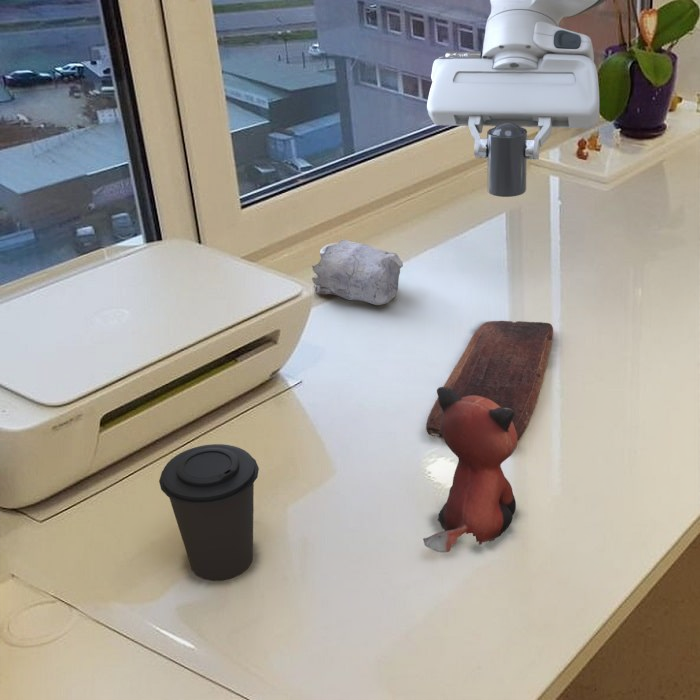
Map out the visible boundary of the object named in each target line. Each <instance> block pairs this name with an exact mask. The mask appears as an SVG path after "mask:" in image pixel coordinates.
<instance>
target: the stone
mask: <svg viewBox="0 0 700 700" xmlns="http://www.w3.org/2000/svg"><path fill="white" fill-rule="evenodd" d="M319 255H320V258H321V259H319V260H320V261H318V263H317V264H314V265H312V266H311V267H312V271H313V273H314V274H315V275H313V276H312V277H311V280H312V283H313V284H314V285H313V289H314V291H315V292H316V294H318V295H319V294H320V295H334V296H337V297H340V298H343V299H346V300H349V301H357V302H358V301H359V302H360V301H361V302H366V303H369V304H371V305H374V306H382V305H384V304H385V305H386V304H388V303H389V302H390V301H392V300H393V298H395V297H396V295H397V293H398V290H399V279H400V274H401V268H402V267H404V262H403V260H401V257H399V255H398V253H396V252H391V251H388V250H383V249H379V248H375V247H373V246H371V245H368V244H365V243H361V242H355V241H351V240H347V239H345V238H342V239H340V240H339V241H338V242H331V243H328V244H326V245H324V246H323V247H322V248H320V250H319Z"/></svg>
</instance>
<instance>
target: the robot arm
mask: <svg viewBox="0 0 700 700" xmlns="http://www.w3.org/2000/svg"><path fill="white" fill-rule="evenodd" d="M605 2H607V0H489V3H490V8H491V10H490V13H489V16H488V18H487V20H486V24H485V29H484V38H483V44H482V45H483V46H482V50H481V51H479V50H478V51H473V50H472V51H471V50H470V51H464V52H463V51H461V52H460V51H447V52H445V54H443V55H440V56H438V57H437V58H436V59H435V60H434V61H433V63H432V67H431V74H430V78H431V81H432V82H431V86H430V88H429V93H428V97H427V103H426V110H427V114H428V116H429V118H430V120H431V121H432V122H433V123H434V125H435V126H450V127H451V126H453V127H455V126H456V127H458V126H460V127H461V126H462V127H468V129H469V133H470V135H471V138H472V140H473V141H474V148H473V155H474V158H476V159H487V138H481V136H480V135H481V134H482V133H483V127H496V126H497V125H499V124H501V123H505V122H511V123H514V124H516V125H518V126H519V127H522V128H538V133H536V135H535V137H534V138H533V139H527V142H526V148H525V156H526V159H527V160H539V159H540V152H541V148H542V147H543V146H544V144H545V143H546V142H547V141H548V139H549V138H550V137H551V136H552V132H553V131H552V130H553V128H556V129H557V128H558V129H560V128H561V129H592V128H593V127H594V126H596V125H597V124H598V123H599V121H600V112H601V111H600V106H601V105H600V87H599V75H598V69H597V65H596V64H595V53H594V47H593V46H594V45H593V42H592V39H591V37H590V36H588V35H586V34H584V33H580V32H577V31H573V30H568V29H566V28H563V27H560V22H561V21H562V20H563V19H564V18H573V17H576V16H578V15H580V14H583V13H585V12H588V11H590V10H591V9H594V8H596V7H598V6H600V5H602V4H603V3H605Z"/></svg>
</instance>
